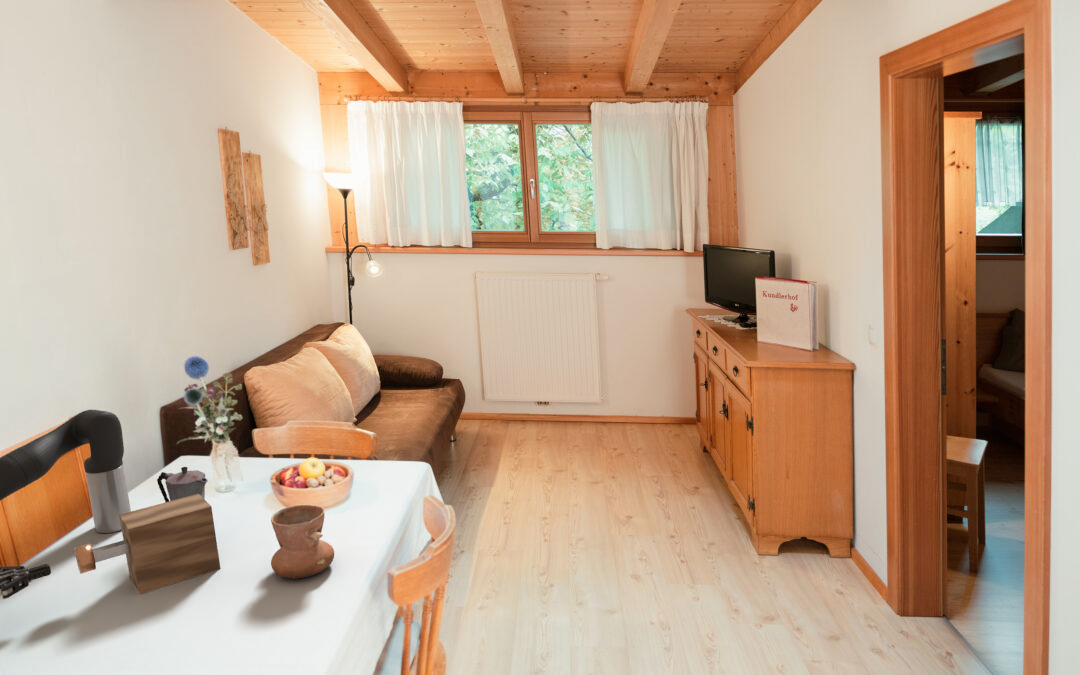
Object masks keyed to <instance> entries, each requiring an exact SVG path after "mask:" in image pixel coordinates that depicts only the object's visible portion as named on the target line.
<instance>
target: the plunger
mask: <svg viewBox="0 0 1080 675" xmlns="http://www.w3.org/2000/svg"><path fill="white" fill-rule="evenodd" d="M74 553H75V559H76V563H77V564H76V565H77V568H78V571H79V574H80V575H81V574H84V573H85V574H86V573H88V572H92V571H94V570H96V569H97V566H96V563H99V562H102V561H106V560H108V559H113V558H116V557H120V556H123V555H126V554H127V553H130V549H129V543H128V541H127V539H126V540H123V539H122V540H120V541H116V542H113V543H110V544H106V545H102V546H99V547H95V548H92V544H91V543H90V542H89V543H86V544H85V543H84V544H82V545H78V546H75V547H74Z"/></svg>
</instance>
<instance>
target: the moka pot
mask: <svg viewBox="0 0 1080 675" xmlns="http://www.w3.org/2000/svg"><path fill="white" fill-rule="evenodd" d="M180 469H181V471H179V472H177V473H171V472H169V473H166V472H165V471H164V472H163V471H162V472H161V473H160V474H159V475H158V477H157V479H156V481H157V486H158V487H159V490H160V492H161V494H162V496H163V500H164V501H165V502H169V501H173V500H177V499H180V498H184V497H188V496H192V495H195V494H200V495H201V496H202V497H203V498H204V499H205V497H206V494H205V492H206V491H205V489H206V487H205V486H206V484H207V483H208V481H209V480H208V479H207V478H206V474H205V472H203V471H201V470H197V469H196V470H188V467H187V466H182V467H181V468H180ZM162 480H165V482H164V483H165V486H166V488H165V487H164V484H163V483H162ZM165 489H166V490H167V492H166V490H165ZM168 497H169V498H168ZM205 500H206V499H205ZM165 502H164V503H165Z"/></svg>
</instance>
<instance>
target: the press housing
mask: <svg viewBox="0 0 1080 675" xmlns="http://www.w3.org/2000/svg"><path fill="white" fill-rule="evenodd" d="M212 507H213V506H212V505H211V504H210V503H209V502H208V501H207V500H206V499H204V498H203V497H202V496H201V495H200V494H195V495H192V496H188V497H184V498H180V499H177V500H173V501H170V500H169V502H163V503H159V504H154V505H151V506H148V507H142V508H140V509H136V510H132V511H131V512H128V513H124V514H120V515H119V517H120V523H121V529H122V530H121V534H122V541H123V540H126V539H127V541H128V543H129V549H130V553H127V554H125V557H126V562H127V563H126V564H127V568H128V575H129V579H130V580H131V582H132V584H133V586H134V587H135V588H136V590H137V592H138V594H139V595H142V594H146V593H148V592H152V591H155V590H157V589H161V587H162V588H165V587H168V586H171V585H173V584H177V583H179V581H180V582H183V581H186V580H189V579H191V578H195V576H196V577H198V575H199V576H202V575H205V574H208V573H211V572H214V571H216V570H220V569H221V563H220V556H219V549H218V542H217V537H216V536H217V535H216V529H215V527H216V526H215V522H214V521H215V520H214V515H213V509H212ZM201 574H202V575H201ZM182 580H183V581H182ZM176 582H177V583H176Z"/></svg>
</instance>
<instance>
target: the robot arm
mask: <svg viewBox="0 0 1080 675" xmlns="http://www.w3.org/2000/svg"><path fill="white" fill-rule="evenodd" d="M84 445H89V451H90V456H89V457H87V458H86V459H85V460H84V461H83V462H84V463H83V468H84V473H85V479H86V484H87V489H88V495H89V501H90V506H91V507H90V508H91V512H92V516H93V517H92V518H93V524H94V530H95V532H96V533H99V534H109V533H115V532H119V531H122V529H121V523H120V517H119V515H120V514H124V513H128V512H132V511H131V510H132V509H131V504H130V498H129V492H128V485H127V480H126V473H125V468H124V461H123V457H124V454H125V446H124V436H123V429H122V424H121V421H120V419H119V417H118V416H117V414H115V413H113V412H112V411H111V412H110V411H107V410H99V409H87V410H86V409H85V410H83V411H81V412H79V413H77V414H75V415H74V416H72V417H71V418H70V419H68V420H66V421H65V422H63V423H62V424H61V425H59V426H57V427H56V428H55V429H52V430H50V431H49V432H47V433H45V434H44V435H43V434H42V435H41V436H40V437H37V438H35V439H33V440H31V441H29V442H27V443H26V444H24V445H21V446H20V447H17V448H15V449H14V450H12V451H10V452H8V453H6V454H4V455H2V456H0V501H2V500H4V499H5V498H7V497H9V496H11V495H12V494H15V492H18V491H20V490H21V489H24V488H25V487H27V486H29V485H31V484H32V483H34V482H36V481H38V480H40V479H42V477H44V476H45V475H46V474H48V472H49V471H50V470H51V469H52V467H54V466H55V464H56V462H57V461H58V460H60V458H62V457H63V456H64V455H66V454H68V453H69V452H70V451H73V450H75V449H77V448H80V447H81V446H84ZM51 570H52V569H51V566H50V564H49V563H45V564H41V565H37V566H33V567H30V568H29V567H25V566H24V565H13V566H12V565H11V566H0V596H2V599H3V600H5V599H9V598H10V597H12V596H14V595H16V594H17V593H19V592H21V591H23V590H25V588H27V587H30V583H31V582H32V581H33V580H37V579H41V578H44V577H47V576H50V575H51V574H52V571H51Z"/></svg>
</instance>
